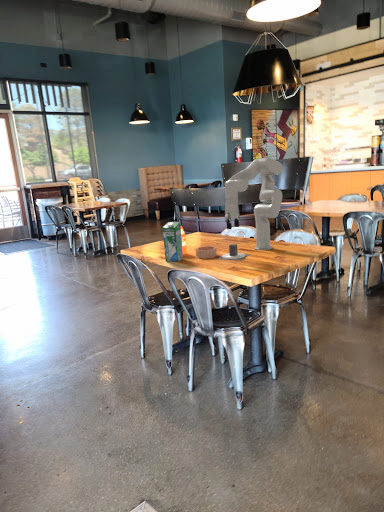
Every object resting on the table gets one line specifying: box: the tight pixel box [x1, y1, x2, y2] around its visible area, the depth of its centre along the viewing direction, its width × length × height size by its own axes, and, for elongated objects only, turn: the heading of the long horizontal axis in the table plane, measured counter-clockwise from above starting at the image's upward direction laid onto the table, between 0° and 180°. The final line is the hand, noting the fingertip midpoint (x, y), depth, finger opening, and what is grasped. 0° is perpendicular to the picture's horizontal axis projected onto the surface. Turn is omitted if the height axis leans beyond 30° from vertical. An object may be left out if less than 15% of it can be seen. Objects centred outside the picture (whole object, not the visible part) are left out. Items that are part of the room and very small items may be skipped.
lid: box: [221, 243, 246, 259], centre depth 250 cm, size 15×15×8 cm
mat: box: [217, 252, 252, 262], centre depth 251 cm, size 17×17×1 cm
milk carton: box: [162, 221, 184, 262], centre depth 254 cm, size 9×9×25 cm
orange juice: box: [181, 225, 187, 255], centre depth 272 cm, size 8×9×20 cm
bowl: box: [195, 245, 218, 260], centre depth 258 cm, size 13×13×6 cm
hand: (233, 228), depth 243 cm, fingers open, 9 cm apart
